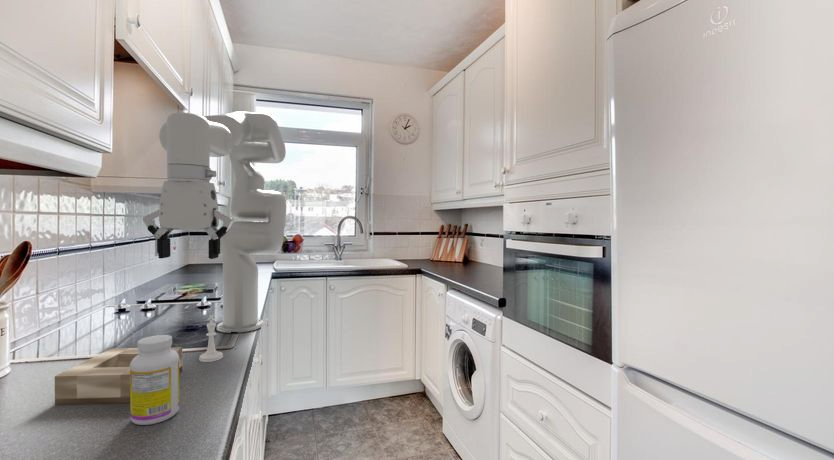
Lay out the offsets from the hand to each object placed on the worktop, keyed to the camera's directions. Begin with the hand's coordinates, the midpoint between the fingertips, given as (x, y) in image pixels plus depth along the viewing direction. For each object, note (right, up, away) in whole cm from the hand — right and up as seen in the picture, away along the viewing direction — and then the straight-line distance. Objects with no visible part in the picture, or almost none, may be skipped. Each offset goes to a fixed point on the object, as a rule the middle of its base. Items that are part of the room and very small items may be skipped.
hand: (189, 257), depth 78 cm
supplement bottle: (+4, -25, -16) cm, 30 cm away
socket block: (-9, -24, -6) cm, 26 cm away
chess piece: (-1, -24, +9) cm, 26 cm away
